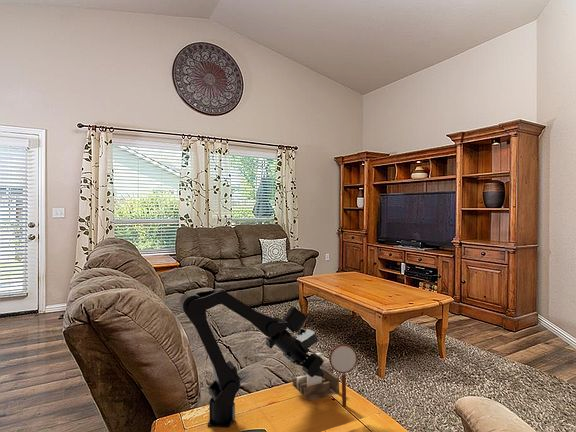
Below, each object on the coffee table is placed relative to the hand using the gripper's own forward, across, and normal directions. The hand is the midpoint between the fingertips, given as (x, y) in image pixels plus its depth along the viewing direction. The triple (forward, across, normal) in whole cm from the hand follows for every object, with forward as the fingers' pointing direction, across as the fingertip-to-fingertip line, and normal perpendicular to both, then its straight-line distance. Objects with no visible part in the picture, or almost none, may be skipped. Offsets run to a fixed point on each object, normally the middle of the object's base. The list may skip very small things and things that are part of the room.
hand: (317, 371), depth 114 cm
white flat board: (+3, 0, +5) cm, 6 cm away
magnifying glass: (+7, -12, +4) cm, 15 cm away
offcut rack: (+5, +1, +6) cm, 8 cm away
